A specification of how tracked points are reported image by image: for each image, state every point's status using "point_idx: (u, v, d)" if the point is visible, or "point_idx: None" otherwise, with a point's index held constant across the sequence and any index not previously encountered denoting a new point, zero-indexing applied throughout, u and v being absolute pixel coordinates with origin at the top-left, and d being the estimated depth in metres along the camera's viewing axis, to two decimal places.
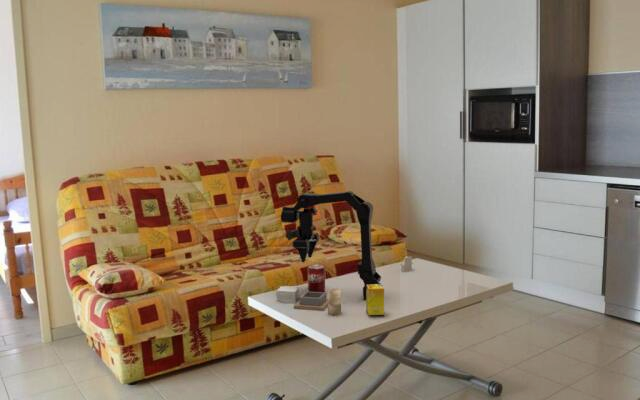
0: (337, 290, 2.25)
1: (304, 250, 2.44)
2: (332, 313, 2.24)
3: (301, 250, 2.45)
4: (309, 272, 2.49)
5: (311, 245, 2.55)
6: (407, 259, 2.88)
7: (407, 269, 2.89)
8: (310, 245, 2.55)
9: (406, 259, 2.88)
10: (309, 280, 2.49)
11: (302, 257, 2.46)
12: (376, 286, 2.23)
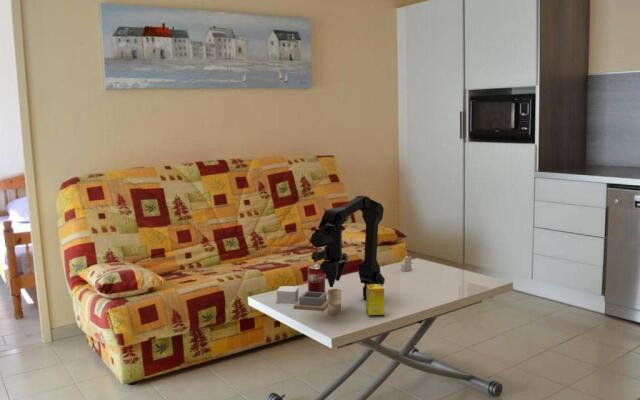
0: (337, 290, 2.25)
1: (333, 274, 2.18)
2: (332, 313, 2.24)
3: (329, 274, 2.19)
4: (309, 272, 2.49)
5: (339, 267, 2.29)
6: (407, 259, 2.88)
7: (407, 269, 2.89)
8: (338, 267, 2.29)
9: (406, 259, 2.88)
10: (309, 280, 2.49)
11: (330, 281, 2.20)
12: (376, 286, 2.23)
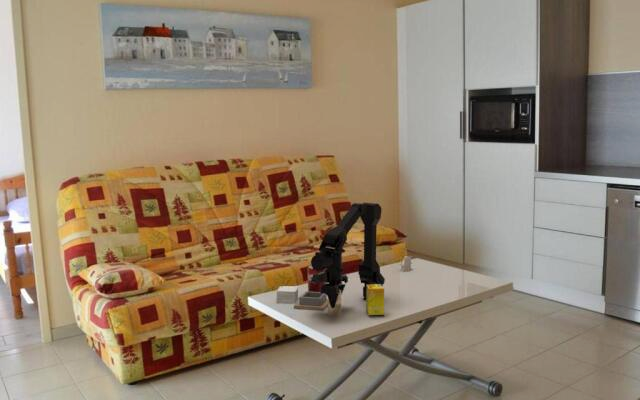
0: None
1: (334, 295, 2.21)
2: (332, 313, 2.24)
3: (331, 295, 2.22)
4: (309, 272, 2.49)
5: None
6: (406, 259, 2.89)
7: (407, 269, 2.90)
8: None
9: (406, 259, 2.88)
10: (309, 280, 2.49)
11: (331, 302, 2.22)
12: (376, 286, 2.23)
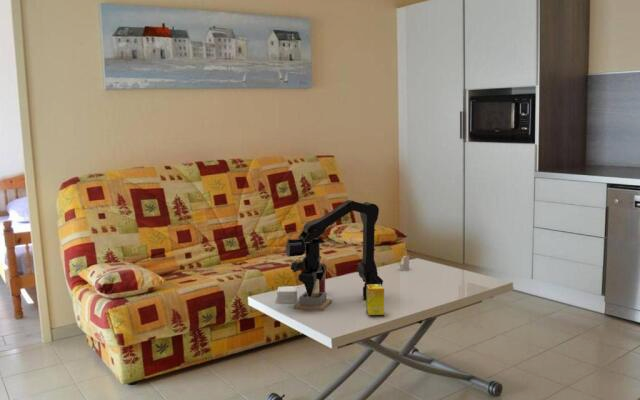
0: None
1: (311, 283, 2.29)
2: None
3: (307, 283, 2.30)
4: None
5: (318, 277, 2.40)
6: (405, 258, 2.90)
7: (405, 268, 2.91)
8: (317, 277, 2.40)
9: (405, 258, 2.89)
10: None
11: (308, 291, 2.31)
12: (376, 286, 2.23)
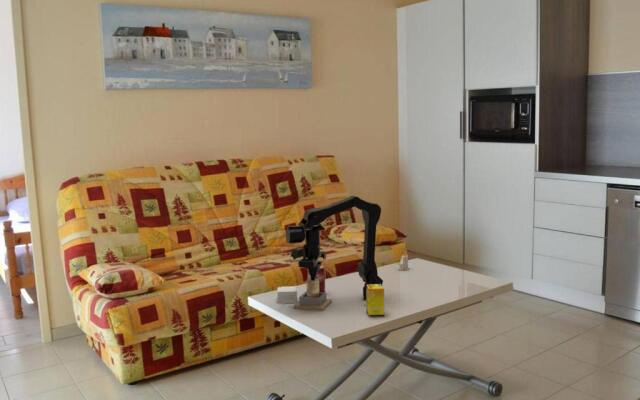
0: (315, 280, 2.36)
1: (314, 268, 2.33)
2: None
3: (311, 268, 2.34)
4: None
5: None
6: (405, 258, 2.91)
7: (405, 268, 2.91)
8: None
9: (404, 258, 2.90)
10: None
11: (312, 275, 2.35)
12: (376, 286, 2.23)
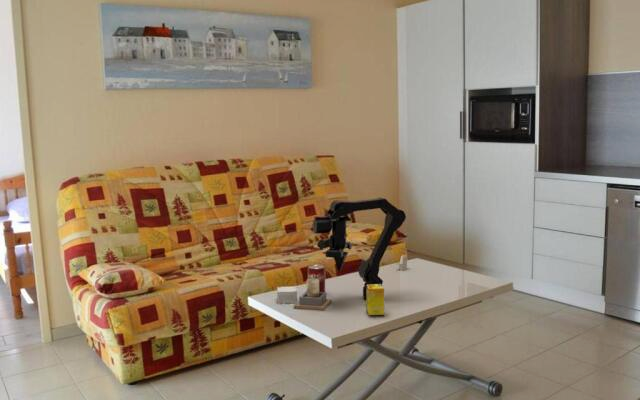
0: (315, 280, 2.36)
1: (340, 258, 2.37)
2: None
3: (337, 258, 2.37)
4: (309, 272, 2.49)
5: None
6: (404, 258, 2.91)
7: (404, 267, 2.92)
8: None
9: (403, 258, 2.91)
10: None
11: (338, 265, 2.38)
12: (376, 286, 2.23)
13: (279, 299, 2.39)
